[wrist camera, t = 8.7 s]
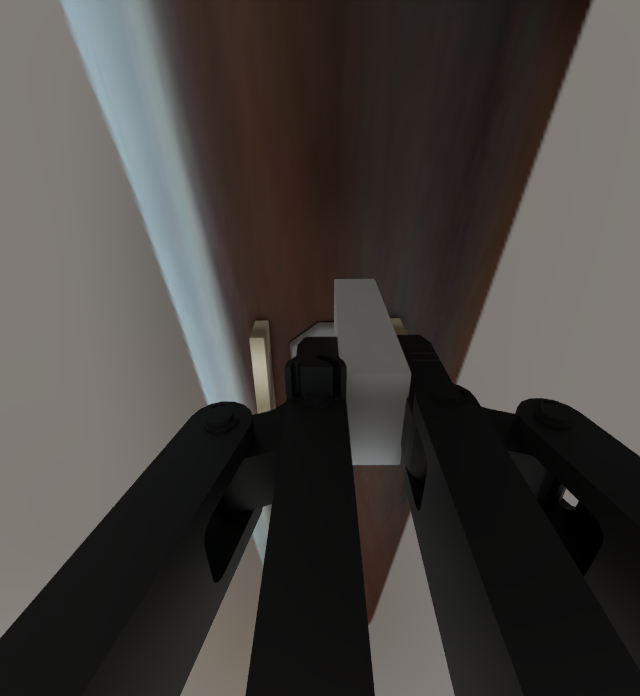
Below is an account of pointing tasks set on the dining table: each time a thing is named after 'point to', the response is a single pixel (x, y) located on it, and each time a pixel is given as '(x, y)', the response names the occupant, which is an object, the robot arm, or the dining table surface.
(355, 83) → the dining table surface
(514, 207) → the dining table surface
